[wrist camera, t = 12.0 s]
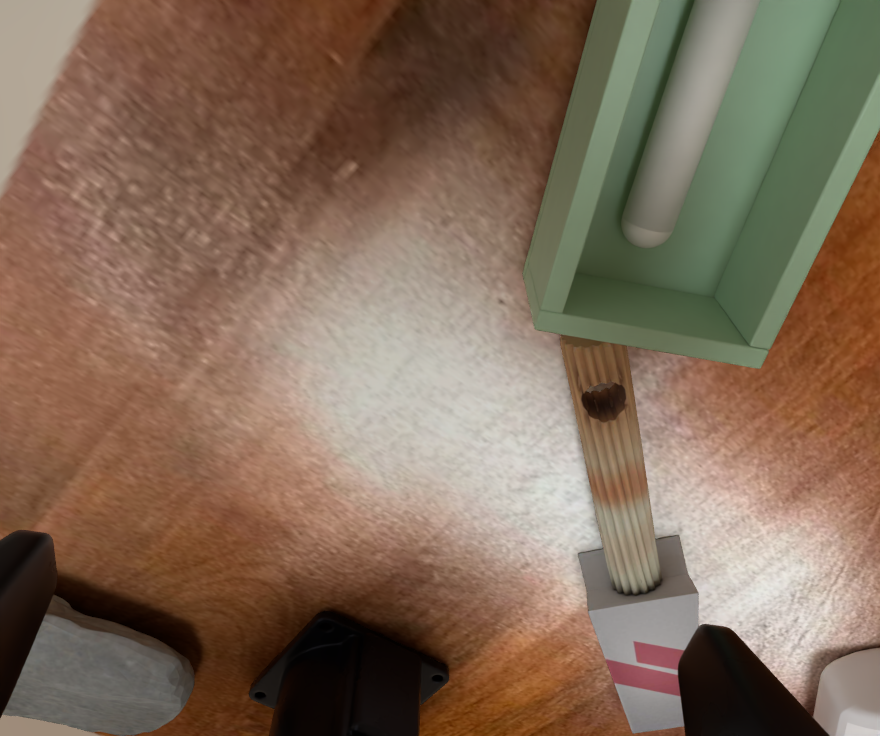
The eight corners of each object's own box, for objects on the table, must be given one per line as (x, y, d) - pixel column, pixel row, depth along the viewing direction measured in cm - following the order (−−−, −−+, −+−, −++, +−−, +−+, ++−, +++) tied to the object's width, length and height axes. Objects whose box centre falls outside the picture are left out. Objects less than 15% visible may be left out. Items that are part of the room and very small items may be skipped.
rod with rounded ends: (670, 249, 20) (655, 261, 19) (623, 231, 21) (607, 242, 20) (786, -54, 16) (776, -61, 15) (725, -66, 17) (712, -73, 16)
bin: (718, 310, 22) (760, 370, 19) (521, 274, 22) (533, 330, 19) (909, -124, 16) (1013, -136, 13) (648, -189, 16) (695, -215, 13)
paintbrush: (701, 690, 32) (643, 296, 22) (721, 751, 30) (666, 340, 20) (614, 704, 33) (518, 326, 22) (627, 764, 30) (526, 373, 20)
